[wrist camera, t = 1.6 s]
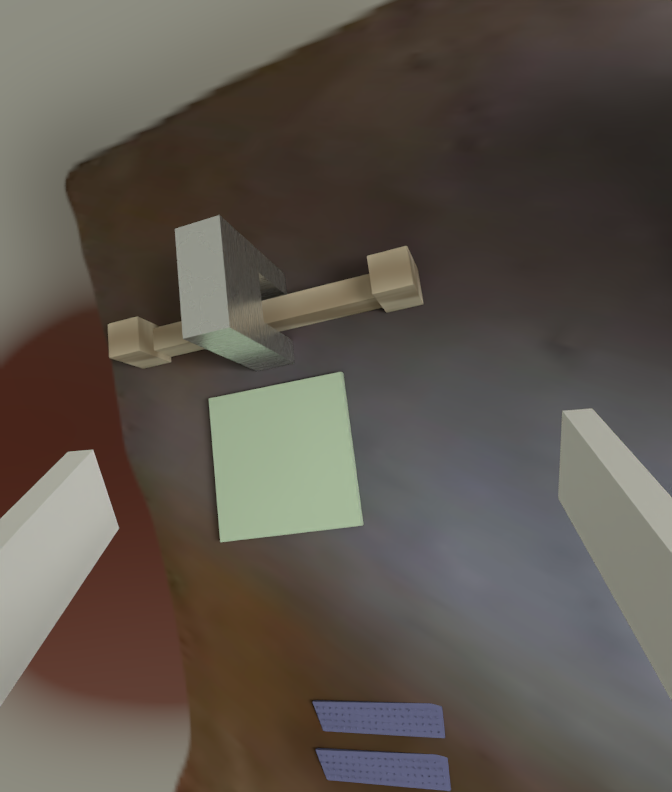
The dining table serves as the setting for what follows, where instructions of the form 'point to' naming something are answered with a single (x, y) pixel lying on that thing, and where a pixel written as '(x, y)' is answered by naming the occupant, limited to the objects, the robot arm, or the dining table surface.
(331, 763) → the signage
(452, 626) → the dining table surface
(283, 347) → the tall grey upright block
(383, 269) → the rail stand
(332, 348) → the dining table surface
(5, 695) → the robot arm
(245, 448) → the pad
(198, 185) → the dining table surface
